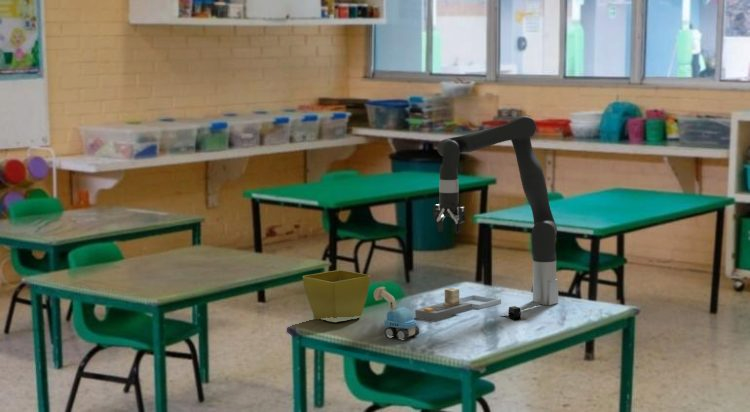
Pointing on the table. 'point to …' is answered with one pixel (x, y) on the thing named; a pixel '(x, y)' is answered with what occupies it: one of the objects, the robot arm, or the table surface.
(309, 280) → the flower pot
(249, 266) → the table surface
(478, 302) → the tray
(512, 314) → the black block
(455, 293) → the plug peg
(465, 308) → the power strip
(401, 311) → the toy excavator
